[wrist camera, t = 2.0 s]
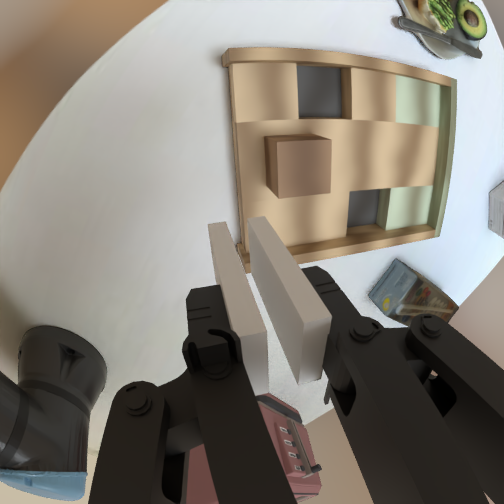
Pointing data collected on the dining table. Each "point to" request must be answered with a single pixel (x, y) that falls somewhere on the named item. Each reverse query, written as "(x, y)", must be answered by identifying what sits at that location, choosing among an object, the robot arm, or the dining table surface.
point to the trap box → (343, 147)
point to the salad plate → (445, 26)
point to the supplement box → (497, 210)
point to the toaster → (287, 447)
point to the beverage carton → (410, 295)
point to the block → (298, 165)
